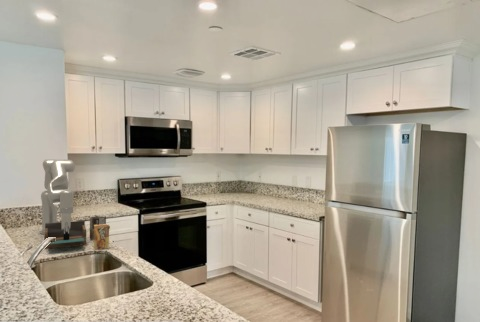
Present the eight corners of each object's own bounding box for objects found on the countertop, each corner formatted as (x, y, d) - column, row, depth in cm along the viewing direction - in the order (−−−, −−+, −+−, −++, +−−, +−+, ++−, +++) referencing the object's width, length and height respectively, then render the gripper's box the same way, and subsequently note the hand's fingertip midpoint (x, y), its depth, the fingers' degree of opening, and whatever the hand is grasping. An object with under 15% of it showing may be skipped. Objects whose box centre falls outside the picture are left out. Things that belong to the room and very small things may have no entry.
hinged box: (45, 242, 226) (45, 223, 226) (84, 238, 238) (84, 220, 237) (44, 248, 212) (44, 228, 212) (86, 244, 224) (86, 225, 223)
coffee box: (106, 239, 236) (106, 217, 236) (98, 242, 231) (99, 218, 230) (96, 238, 240) (96, 215, 240) (89, 240, 234) (89, 217, 234)
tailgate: (48, 241, 213) (47, 241, 201) (82, 238, 223) (84, 238, 211) (48, 243, 213) (47, 244, 201) (82, 240, 222) (84, 240, 210)
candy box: (108, 246, 220) (108, 223, 219) (108, 248, 216) (109, 225, 216) (93, 248, 216) (93, 224, 216) (93, 250, 212) (94, 226, 212)
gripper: (59, 209, 215) (59, 237, 215) (59, 212, 201) (59, 243, 202) (72, 208, 218) (72, 236, 218) (73, 211, 205) (73, 241, 205)
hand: (66, 239), depth 210 cm, fingers closed
